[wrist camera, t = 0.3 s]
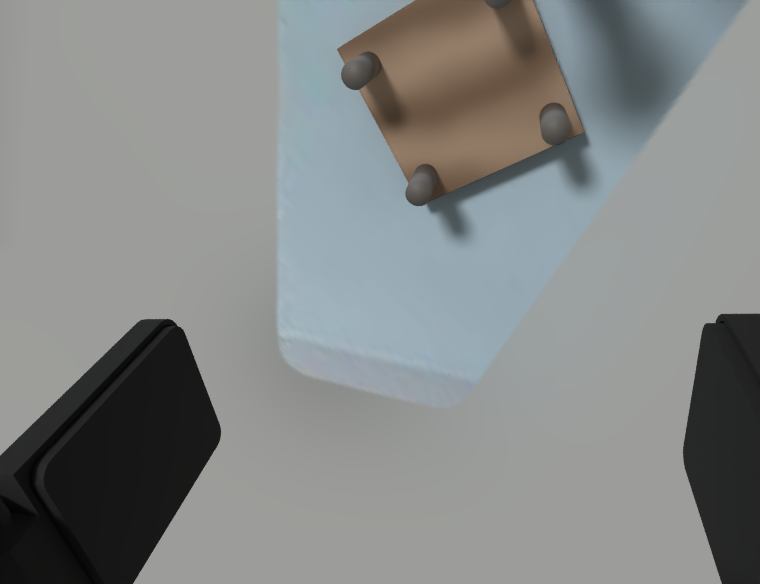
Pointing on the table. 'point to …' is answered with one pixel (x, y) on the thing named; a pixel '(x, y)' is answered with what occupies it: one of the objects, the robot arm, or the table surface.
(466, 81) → the peg holder
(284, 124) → the table surface
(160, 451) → the robot arm
